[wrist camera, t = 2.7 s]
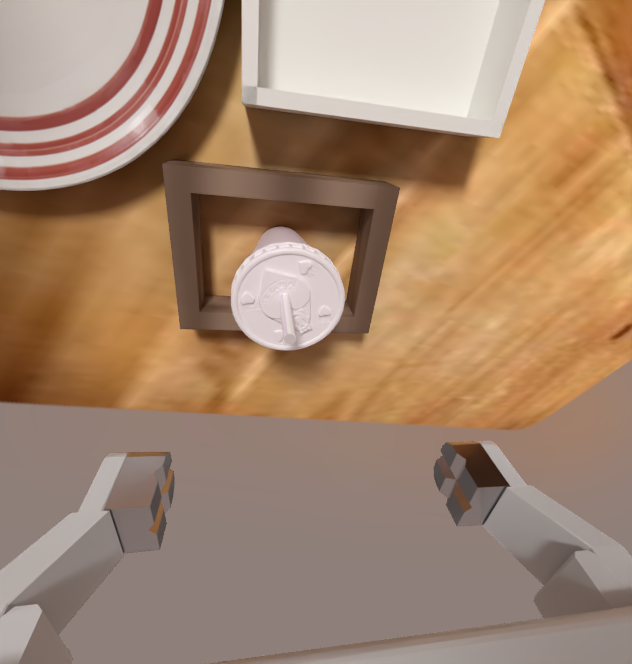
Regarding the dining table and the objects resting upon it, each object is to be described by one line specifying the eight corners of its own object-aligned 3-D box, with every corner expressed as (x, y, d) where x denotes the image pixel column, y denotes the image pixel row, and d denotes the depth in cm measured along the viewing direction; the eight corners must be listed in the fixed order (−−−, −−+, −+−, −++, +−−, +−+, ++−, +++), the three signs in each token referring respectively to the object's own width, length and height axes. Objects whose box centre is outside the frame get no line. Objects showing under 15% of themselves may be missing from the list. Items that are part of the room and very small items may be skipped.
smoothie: (296, 191, 25) (328, 250, 13) (334, 263, 28) (387, 364, 16) (222, 235, 26) (188, 328, 14) (267, 300, 29) (272, 421, 17)
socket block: (187, 310, 28) (180, 328, 26) (173, 159, 23) (162, 163, 20) (359, 316, 31) (368, 333, 28) (385, 181, 25) (399, 187, 23)
